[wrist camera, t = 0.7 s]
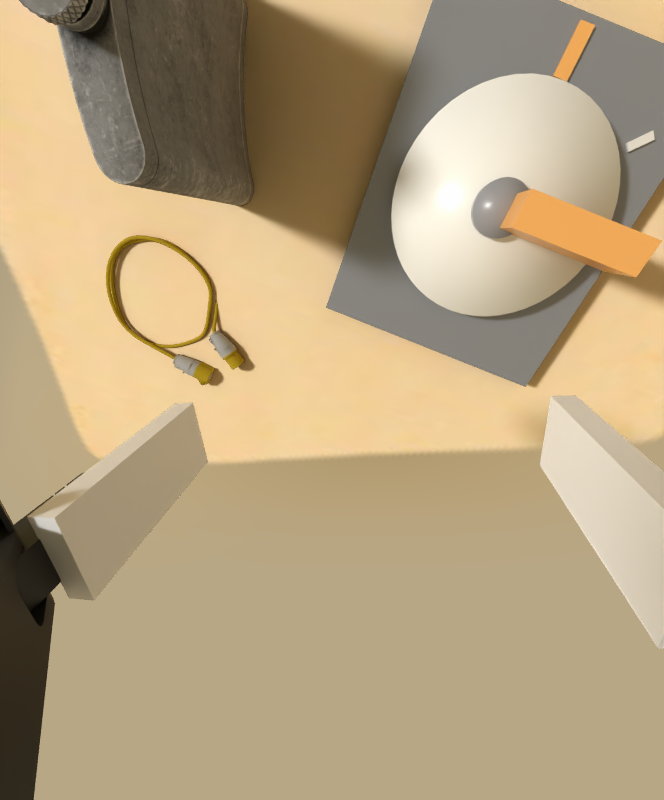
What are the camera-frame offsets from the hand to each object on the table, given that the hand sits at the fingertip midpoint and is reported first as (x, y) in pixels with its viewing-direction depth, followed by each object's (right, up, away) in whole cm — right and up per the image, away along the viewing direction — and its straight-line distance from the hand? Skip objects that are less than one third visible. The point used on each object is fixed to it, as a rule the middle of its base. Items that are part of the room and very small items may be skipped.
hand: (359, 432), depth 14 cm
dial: (+12, +16, +15) cm, 25 cm away
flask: (-9, +25, +17) cm, 32 cm away
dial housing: (+12, +17, +17) cm, 26 cm away
